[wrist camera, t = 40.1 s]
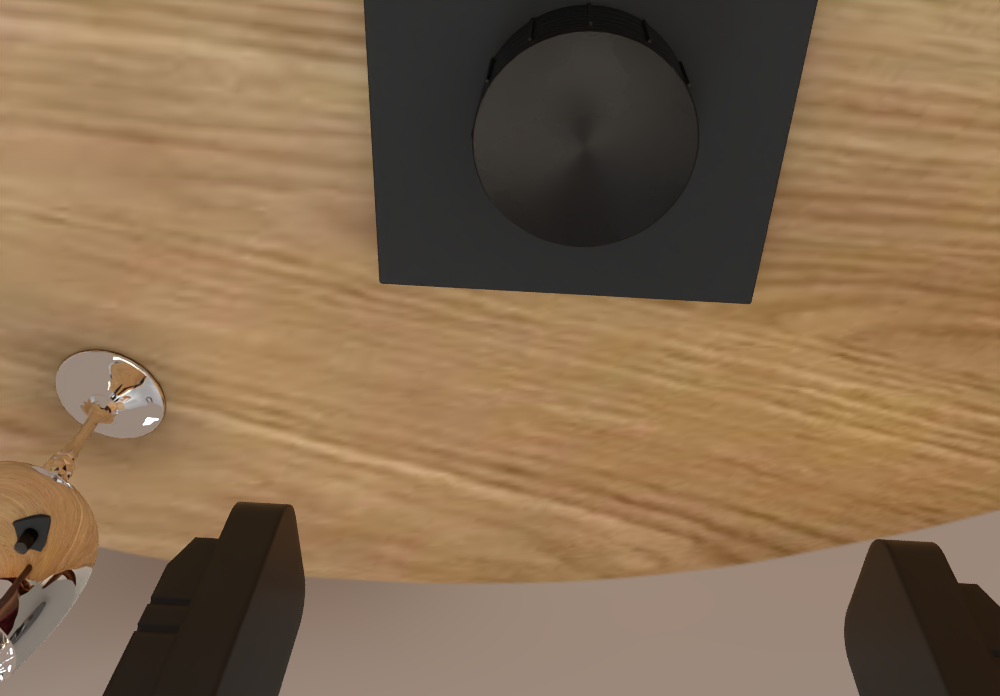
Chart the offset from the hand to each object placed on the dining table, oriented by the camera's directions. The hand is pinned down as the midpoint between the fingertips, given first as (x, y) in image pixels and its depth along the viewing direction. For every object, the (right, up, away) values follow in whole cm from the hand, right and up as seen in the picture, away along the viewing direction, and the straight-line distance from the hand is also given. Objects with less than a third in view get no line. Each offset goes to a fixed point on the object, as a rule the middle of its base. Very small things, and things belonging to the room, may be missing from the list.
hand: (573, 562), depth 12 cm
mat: (+1, +11, +16) cm, 19 cm away
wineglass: (-17, +1, +24) cm, 29 cm away
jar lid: (+2, +10, +15) cm, 18 cm away
